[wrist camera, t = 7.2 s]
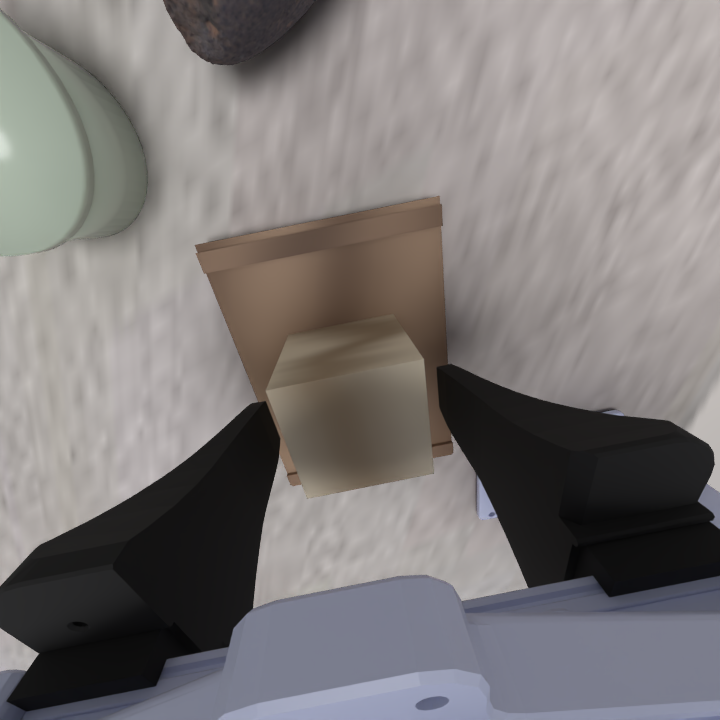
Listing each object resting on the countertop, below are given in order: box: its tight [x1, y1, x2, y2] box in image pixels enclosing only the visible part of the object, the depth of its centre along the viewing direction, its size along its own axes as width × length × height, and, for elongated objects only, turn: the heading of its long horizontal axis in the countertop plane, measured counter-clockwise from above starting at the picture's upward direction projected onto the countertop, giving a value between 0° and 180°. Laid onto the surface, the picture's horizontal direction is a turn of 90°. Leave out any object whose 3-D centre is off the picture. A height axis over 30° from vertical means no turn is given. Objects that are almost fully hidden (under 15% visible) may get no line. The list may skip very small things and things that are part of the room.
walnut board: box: [195, 196, 453, 486], centre depth 15 cm, size 10×14×1 cm
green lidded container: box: [0, 9, 148, 256], centre depth 9 cm, size 7×7×4 cm
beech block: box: [266, 314, 434, 499], centre depth 12 cm, size 5×5×5 cm
